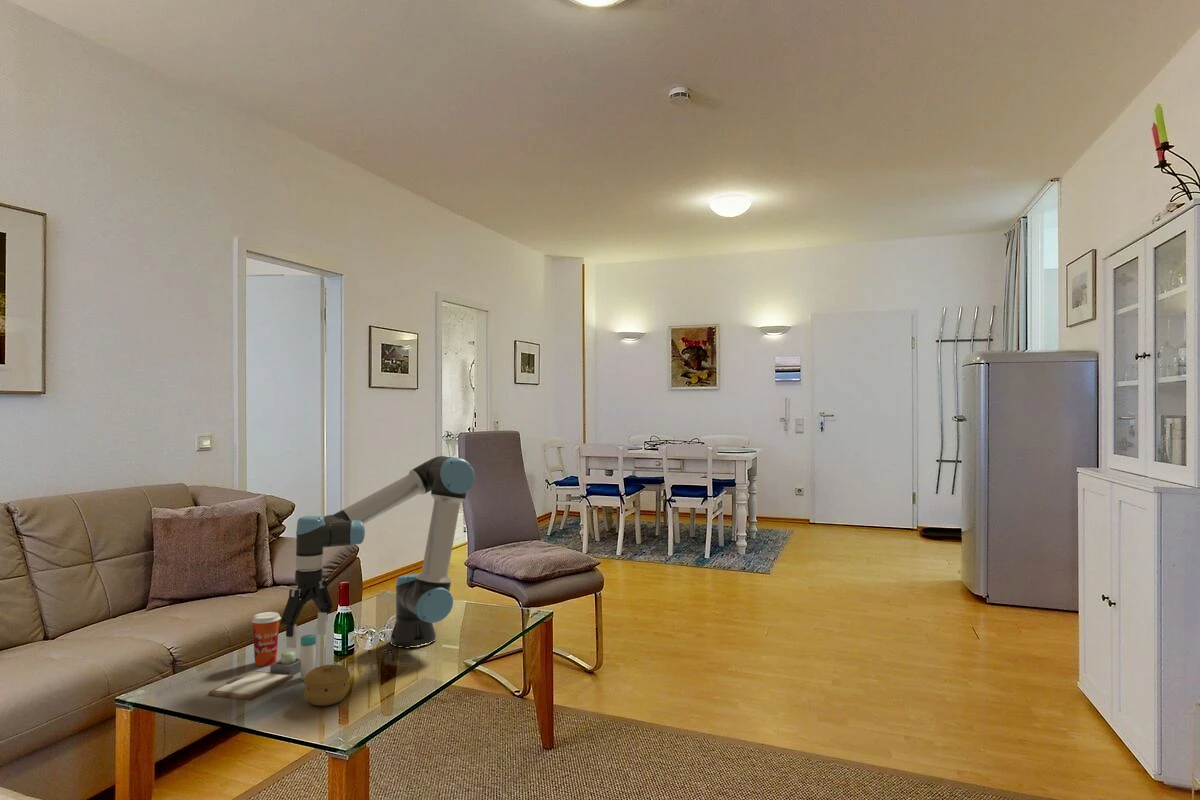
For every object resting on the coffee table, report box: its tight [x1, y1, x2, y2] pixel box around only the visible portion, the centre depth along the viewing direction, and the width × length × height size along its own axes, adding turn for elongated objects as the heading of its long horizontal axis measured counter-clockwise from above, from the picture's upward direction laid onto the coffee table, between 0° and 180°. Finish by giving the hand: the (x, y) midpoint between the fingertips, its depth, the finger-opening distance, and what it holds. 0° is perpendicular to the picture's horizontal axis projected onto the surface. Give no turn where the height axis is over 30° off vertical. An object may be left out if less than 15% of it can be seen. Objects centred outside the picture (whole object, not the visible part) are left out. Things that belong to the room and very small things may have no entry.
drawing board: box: [208, 670, 294, 701], centre depth 201 cm, size 14×17×2 cm
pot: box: [303, 664, 351, 707], centre depth 190 cm, size 12×12×10 cm
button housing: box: [269, 657, 301, 676], centre depth 212 cm, size 7×7×3 cm
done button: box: [280, 650, 297, 665], centre depth 212 cm, size 4×4×4 cm
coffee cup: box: [251, 611, 282, 667], centre depth 220 cm, size 8×8×15 cm
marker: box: [300, 634, 317, 681], centre depth 208 cm, size 4×4×12 cm
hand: (306, 640), depth 208 cm, fingers open, 13 cm apart
